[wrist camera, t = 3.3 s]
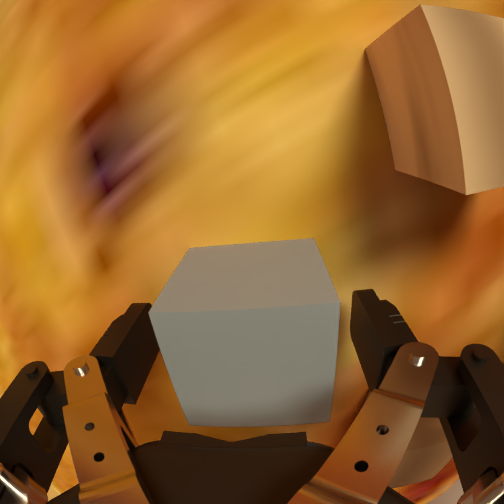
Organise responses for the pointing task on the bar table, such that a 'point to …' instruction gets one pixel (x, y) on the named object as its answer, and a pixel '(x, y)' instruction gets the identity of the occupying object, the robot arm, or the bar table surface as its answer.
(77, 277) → the bar table surface
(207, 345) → the slate blue cube
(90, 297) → the bar table surface
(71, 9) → the bar table surface
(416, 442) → the walnut cube
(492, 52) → the beech cube
